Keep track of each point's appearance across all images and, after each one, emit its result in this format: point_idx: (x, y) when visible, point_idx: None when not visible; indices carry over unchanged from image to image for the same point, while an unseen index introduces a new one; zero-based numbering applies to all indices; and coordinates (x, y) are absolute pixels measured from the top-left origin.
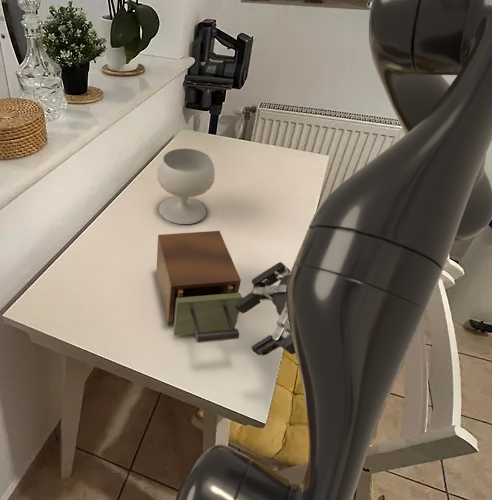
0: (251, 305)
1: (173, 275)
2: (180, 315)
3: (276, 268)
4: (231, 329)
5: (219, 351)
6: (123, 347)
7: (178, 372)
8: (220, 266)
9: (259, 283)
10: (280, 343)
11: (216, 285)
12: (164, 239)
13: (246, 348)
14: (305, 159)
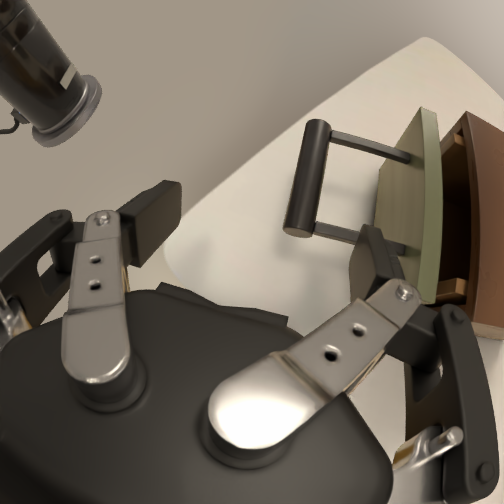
0: (356, 282)
1: (497, 136)
2: (402, 143)
3: (476, 449)
4: (318, 222)
5: (320, 247)
6: (371, 98)
7: (298, 149)
8: None
9: (435, 335)
10: (70, 213)
11: (472, 236)
12: None
13: (307, 312)
14: None
